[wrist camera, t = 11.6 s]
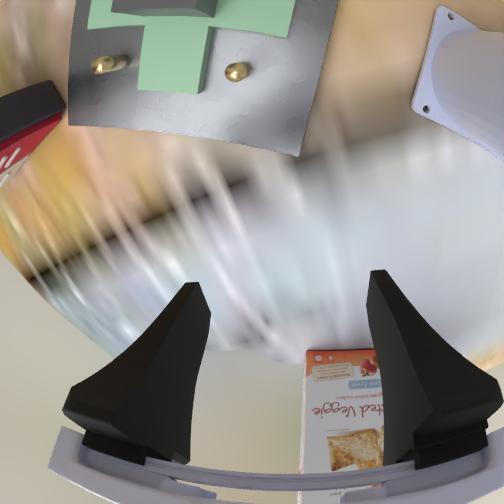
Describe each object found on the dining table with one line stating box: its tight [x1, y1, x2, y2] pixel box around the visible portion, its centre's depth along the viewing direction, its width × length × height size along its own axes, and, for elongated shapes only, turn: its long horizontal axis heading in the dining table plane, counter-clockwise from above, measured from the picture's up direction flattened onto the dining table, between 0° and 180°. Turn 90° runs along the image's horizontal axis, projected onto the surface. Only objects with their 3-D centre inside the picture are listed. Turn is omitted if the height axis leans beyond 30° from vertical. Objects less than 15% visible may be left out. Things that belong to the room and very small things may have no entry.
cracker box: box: [297, 349, 384, 504], centre depth 23 cm, size 14×6×21 cm, turn 95°
